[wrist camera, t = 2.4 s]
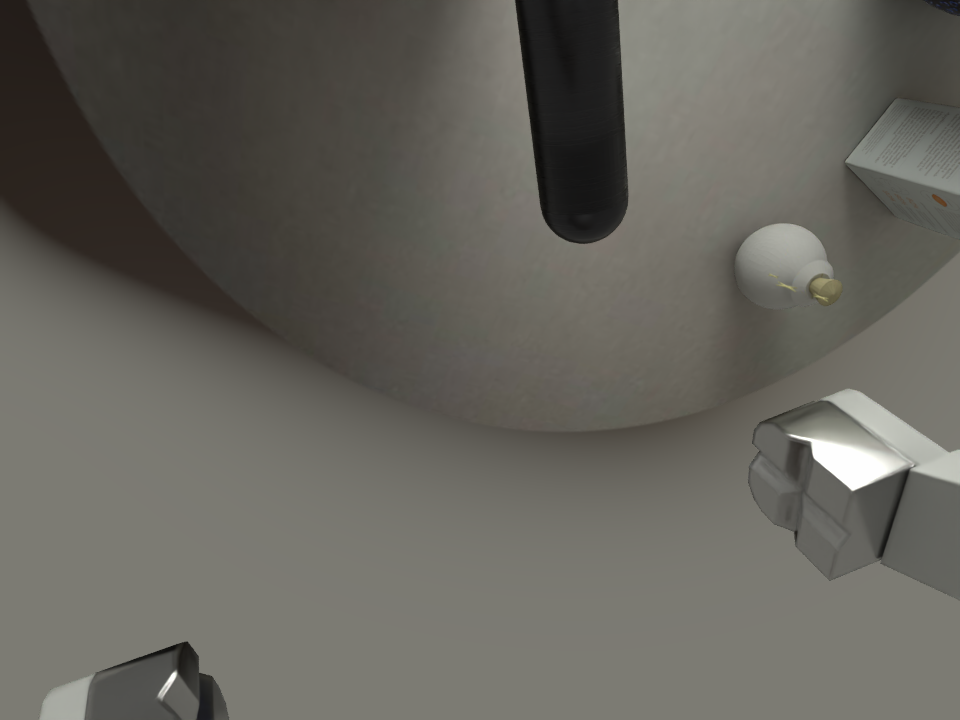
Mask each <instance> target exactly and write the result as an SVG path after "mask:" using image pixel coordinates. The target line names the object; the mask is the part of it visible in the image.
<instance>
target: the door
mask: <svg viewBox="0 0 960 720" xmlns="http://www.w3.org/2000/svg"><path fill="white" fill-rule="evenodd" d="M515 3H516V11H517V20H518V28H519V36H520V44H521V52H522V60H523V68H524V77H525V85H526V93H527V101H528V109H529V117H530V125H531V133H532V142H533V150H534V158H535V166H536V174H537V182H538V190H539V198H540V207H541V210H542V215H543V217H544V219H545V222H546V223H547V225H548V226H549V227H550V229H551V230H552V231H553V232H554V233H555V234H556V235H558V236H559V237H561V238H563V239H565V240H567V241H569V242H573V243H579V244H587V243H593V242H596V241H599V240H601V239H603V238H605V237H607V236H608V235H610V234H611V233H612V232H613V231H614V230H615V229H616V228H617V227H618V226H619V224H620V223H621V221H622V220H623V218H624V216H625V214H626V210H627V206H628V179H627V160H626V142H625V123H624V104H623V86H622V67H621V48H620V30H619V11H618V0H515Z"/></svg>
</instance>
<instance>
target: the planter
mask: <svg viewBox="0 0 960 720" xmlns="http://www.w3.org/2000/svg"><path fill="white" fill-rule="evenodd" d="M923 1H925V2H926V3H928V4H929V5H931V6H933V7H935V8H937V9H939V10H942V11H945V12H947V13H950V14H952V15H956V16H960V0H923Z"/></svg>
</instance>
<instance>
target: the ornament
mask: <svg viewBox="0 0 960 720" xmlns="http://www.w3.org/2000/svg"><path fill="white" fill-rule="evenodd" d="M734 274H735V279H736V282H737V285H738V287H739V289H740V290H741V292H742V293H743V294H744V295H745V296H746V297H747V298H748V299H749V300H750V301H752V302H753V303H755V304H757V305H759V306H761V307H765V308H769V309H788V308H792V307H795V306H798V305H799V306H804V307H806V306H810V305H813V304H815V303H817V302H819V303H820V304H821V305H823V306H829V305H831V304H833V303H834V302H836V301H837V300H838V298H839V297H840V295H841V293H842V284H841V282H840V281H838V280H833V278H834V272H833V268H832V266H831V265H830V264H829V263H828V262H827V256H826V252H825V249H824V247H823V245H822V243H821V242H820V240H819V239H818V238H817V237H816V236H815V235H814V234H813V233H811V232H810V231H809V230H807V229H805V228H803V227H801V226H798V225H794V224H787V223H780V224H773V225H769V226H766V227H763V228H761V229H759V230H757V231H756V232H754V233H753V234H751V235H750V236H749V237H748V238H747V239H746V240H745V241H744V242H743V244H742V245H741V247H740V249H739V250H738V253H737V255H736V258H735V263H734Z"/></svg>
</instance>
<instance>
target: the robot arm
mask: <svg viewBox="0 0 960 720" xmlns="http://www.w3.org/2000/svg"><path fill="white" fill-rule="evenodd" d="M752 444H753V445H755V447H756V448H757V449H758V450H759V452H758V454H757V455H756V456H755V458H754V459H753V461H752V462H751V464H750V466H749V477H748V483H749V486H750V489H751V492H752V495H753V498H754V500H755V501H756V503H757V505H758V506H759V508H760V509H761V511H762V512H763V513H764V514H765V515H766V516H767V517H768V519H769V520H770V521H771V522H772V523H773V524H775V525H777V526H780V527H783V528H786V529H788V530H791V531H794V538H795V545H796V547H797V548H798V549H799V550H800V551H801V552H802V553H803V554H804V555H805V556H806V557H807V559H809V561H810V562H811V563H813V565H814V566H815V567H817V568H818V570H819V571H820V572H821V573H822V574H823V575H824V576H825V577H826V578H827V579H828V580H829V581H831V580H833V579H835V578H838V577H840V576H843V575H845V574H847V573H850V572H852V571H855V570H857V569H860V568H862V567H865V566H867V565H869V564H872V563H874V562H877V561H879V560H881V564H883V565H885V566H887V567H889V568H891V569H893V570H896V571H898V572H900V573H902V574H904V575H906V576H908V577H911V578H913V579H915V580H917V581H919V582H921V583H924V584H926V585H928V586H930V587H932V588H934V589H936V590H939V591H941V592H943V593H945V594H947V595H949V596H951V597H954V598H956V599H958V600H960V450H955V451H953V452H950V453H949V452H947V451H946V450H944V449H943V448H941V447H940V446H939V445H937V444H935V443H934V442H933V441H931V440H930V439H928V438H927V437H925V436H924V435H922V434H921V433H919V432H918V431H917V430H915V429H914V428H912V427H911V426H909V425H908V424H906V423H905V422H904V421H902V420H901V419H899V418H898V417H896V416H895V415H893V414H892V413H890V412H889V411H887V410H886V409H885V408H883V407H882V406H880V405H878V404H877V403H876V402H874V401H873V400H871V399H870V398H869V397H867V396H866V395H864V394H863V393H861V392H859V391H856V390H852V389H846V390H843V391H840V392H838V393H835V394H832V395H830V396H827V397H825V398H822V399H819V400H817V401H812V402H810V403H807V404H805V405H802V406H800V407H797V408H795V409H792V410H789V411H787V412H784V413H782V414H779V415H777V416H774V417H772V418H769V419H767V420H765V421H762V422H760V423H759V424H758V425H757V427H756V428H755V429H754V434H753V441H752ZM38 720H229V716H228V712H227V707H226V703H225V700H224V698H223V695H222V693H221V690H220V688H219V686H218V685H217V683H216V681H215V680H214V678H213V677H212V676H210V675H206V674H202V673H199V656H198V655H197V654H196V652H195V651H194V649H193V648H192V647H191V646H190V644H189V643H188V642H183V643H179V644H176V645H173V646H171V647H168V648H165V649H162V650H159V651H157V652H154V653H151V654H148V655H145V656H143V657H139V658H136V659H134V660H131V661H128V662H126V663H122V664H120V665H117V666H114V667H111V668H108V669H105V670H103V671H100V672H97V673H95V674H92V675H89V676H86V677H84V678H81V679H78V680H76V681H73V682H70V683H67V684H65V685H62V686H59V687H56V688H54V689H51V690H50V691H49V693H48V695H47V697H46V698H45V700H44V702H43V704H42V706H41V709H40V715H39V719H38Z"/></svg>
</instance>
